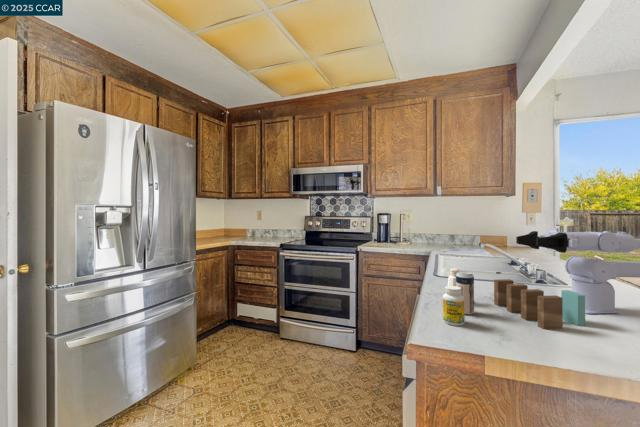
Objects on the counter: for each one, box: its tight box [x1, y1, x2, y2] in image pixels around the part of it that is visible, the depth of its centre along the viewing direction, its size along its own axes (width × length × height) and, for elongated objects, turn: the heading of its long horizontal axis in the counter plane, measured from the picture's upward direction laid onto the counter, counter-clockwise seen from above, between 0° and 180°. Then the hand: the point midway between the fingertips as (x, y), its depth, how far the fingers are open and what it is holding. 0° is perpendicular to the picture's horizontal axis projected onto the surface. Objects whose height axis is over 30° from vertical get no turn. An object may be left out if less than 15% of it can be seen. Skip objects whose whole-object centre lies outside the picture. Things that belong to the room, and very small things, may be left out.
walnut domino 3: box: [520, 288, 545, 321], centre depth 82 cm, size 2×5×8 cm, turn 92°
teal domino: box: [560, 289, 586, 327], centre depth 79 cm, size 2×5×8 cm, turn 2°
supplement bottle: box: [442, 285, 466, 327], centre depth 80 cm, size 5×5×10 cm
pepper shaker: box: [447, 268, 460, 286], centre depth 97 cm, size 5×5×11 cm
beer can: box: [456, 270, 475, 316], centre depth 87 cm, size 5×5×12 cm
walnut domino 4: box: [537, 294, 564, 330], centre depth 76 cm, size 2×5×8 cm, turn 92°
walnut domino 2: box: [506, 283, 529, 314], centre depth 88 cm, size 2×5×8 cm, turn 92°
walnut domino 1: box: [493, 278, 514, 307], centre depth 94 cm, size 2×5×8 cm, turn 92°
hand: (526, 241), depth 88 cm, fingers open, 7 cm apart
